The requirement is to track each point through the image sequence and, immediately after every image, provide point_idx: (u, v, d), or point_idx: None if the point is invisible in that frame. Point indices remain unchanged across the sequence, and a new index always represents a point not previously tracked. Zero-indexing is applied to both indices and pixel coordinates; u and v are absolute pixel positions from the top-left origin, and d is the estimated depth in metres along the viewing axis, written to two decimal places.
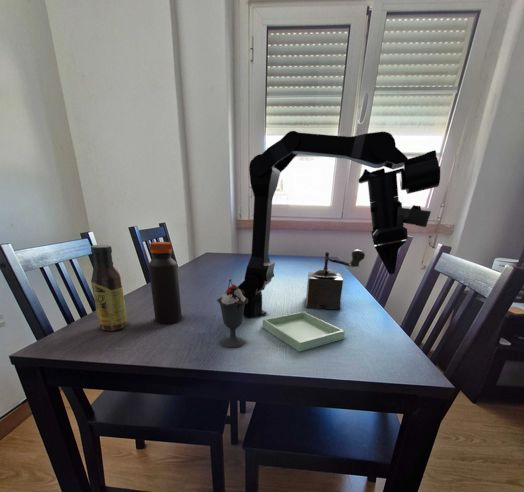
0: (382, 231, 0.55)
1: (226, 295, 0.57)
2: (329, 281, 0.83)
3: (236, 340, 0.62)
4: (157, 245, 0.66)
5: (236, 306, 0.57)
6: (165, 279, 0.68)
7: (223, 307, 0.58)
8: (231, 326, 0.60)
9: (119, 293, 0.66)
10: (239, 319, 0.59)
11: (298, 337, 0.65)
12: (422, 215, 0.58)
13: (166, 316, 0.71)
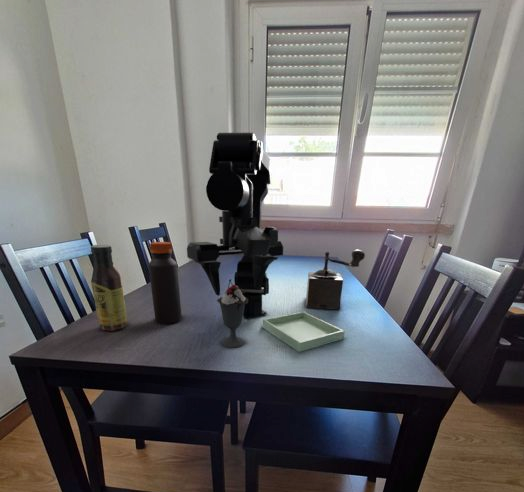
0: (189, 245, 0.51)
1: (226, 295, 0.57)
2: (329, 281, 0.83)
3: (236, 340, 0.62)
4: (157, 245, 0.66)
5: (236, 306, 0.57)
6: (165, 279, 0.68)
7: (223, 307, 0.58)
8: (231, 326, 0.60)
9: (119, 293, 0.66)
10: (239, 319, 0.59)
11: (298, 337, 0.65)
12: (244, 241, 0.48)
13: (166, 316, 0.71)
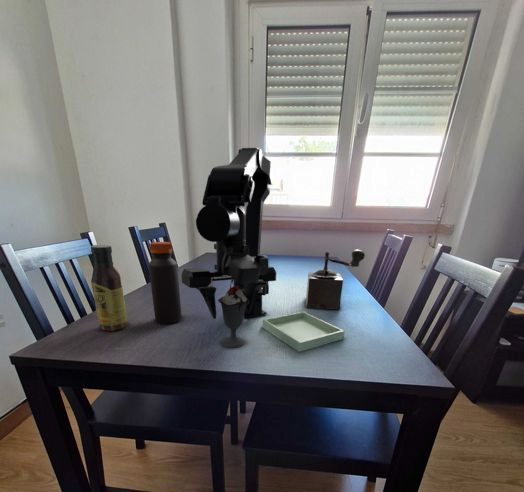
0: (183, 272, 0.53)
1: (228, 295, 0.57)
2: (329, 281, 0.83)
3: (236, 340, 0.62)
4: (157, 245, 0.66)
5: (237, 307, 0.57)
6: (165, 279, 0.68)
7: (224, 307, 0.58)
8: (232, 326, 0.60)
9: (119, 293, 0.66)
10: (240, 319, 0.59)
11: (298, 337, 0.65)
12: (235, 269, 0.50)
13: (166, 316, 0.71)
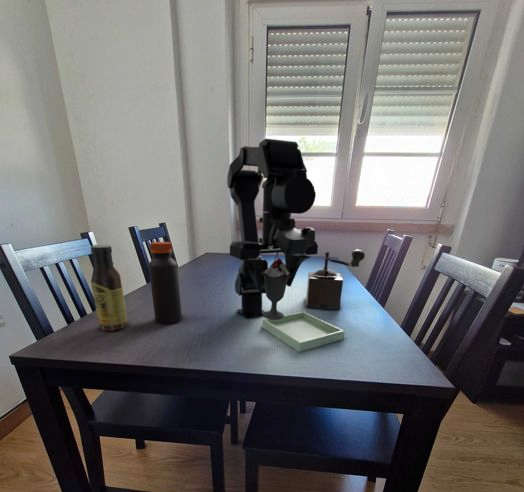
0: (232, 244, 0.55)
1: (272, 268, 0.59)
2: (329, 281, 0.83)
3: (277, 313, 0.65)
4: (157, 245, 0.66)
5: (281, 279, 0.59)
6: (165, 279, 0.68)
7: (268, 280, 0.60)
8: (274, 299, 0.62)
9: (119, 293, 0.66)
10: (282, 292, 0.62)
11: (298, 337, 0.65)
12: (284, 241, 0.52)
13: (166, 316, 0.71)
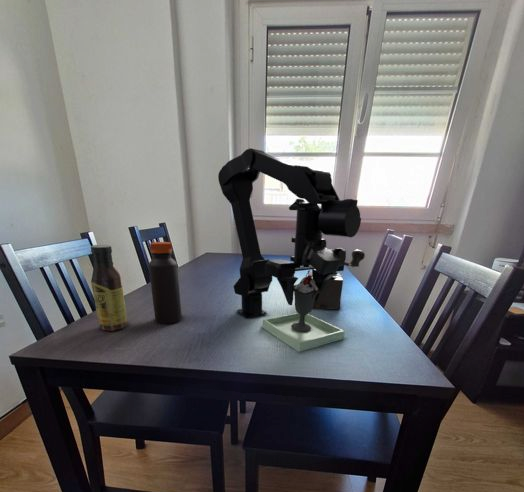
0: (268, 263, 0.59)
1: (303, 284, 0.63)
2: (329, 281, 0.83)
3: (305, 325, 0.69)
4: (157, 245, 0.66)
5: (311, 295, 0.64)
6: (165, 279, 0.68)
7: (299, 295, 0.64)
8: (303, 312, 0.66)
9: (119, 293, 0.66)
10: (311, 306, 0.66)
11: (298, 337, 0.65)
12: (319, 261, 0.56)
13: (166, 316, 0.71)
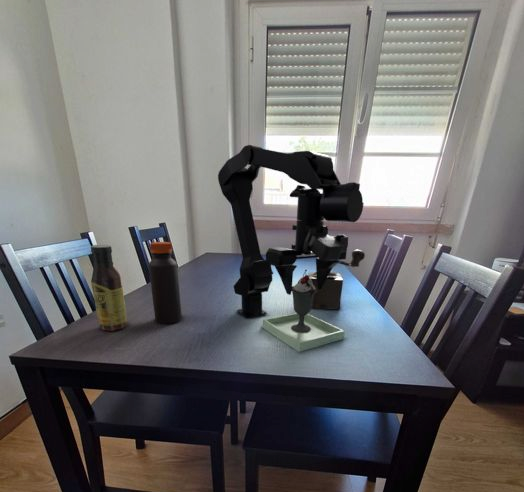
0: (269, 251, 0.58)
1: (301, 284, 0.64)
2: (329, 281, 0.83)
3: (304, 326, 0.69)
4: (157, 245, 0.66)
5: (309, 294, 0.64)
6: (165, 279, 0.68)
7: (297, 295, 0.65)
8: (303, 312, 0.67)
9: (119, 293, 0.66)
10: (310, 306, 0.66)
11: (298, 337, 0.65)
12: (321, 248, 0.55)
13: (166, 316, 0.71)
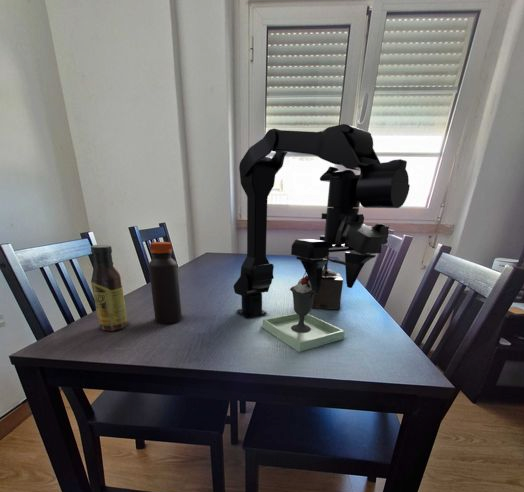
0: (296, 243, 0.50)
1: (301, 285, 0.64)
2: (329, 281, 0.83)
3: (304, 326, 0.69)
4: (157, 245, 0.66)
5: (310, 294, 0.64)
6: (165, 279, 0.68)
7: (297, 296, 0.65)
8: (303, 313, 0.66)
9: (119, 293, 0.66)
10: (310, 306, 0.66)
11: (298, 337, 0.65)
12: (359, 238, 0.47)
13: (166, 316, 0.71)
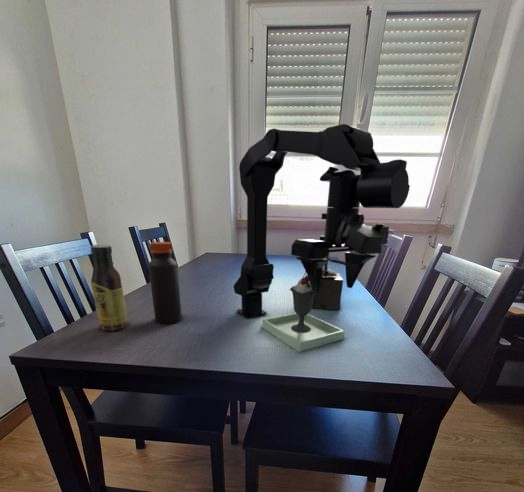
0: (296, 243, 0.50)
1: (301, 285, 0.64)
2: (329, 281, 0.83)
3: (304, 326, 0.69)
4: (157, 245, 0.66)
5: (310, 294, 0.64)
6: (165, 279, 0.68)
7: (297, 296, 0.65)
8: (303, 313, 0.66)
9: (119, 293, 0.66)
10: (310, 306, 0.66)
11: (298, 337, 0.65)
12: (359, 239, 0.47)
13: (166, 316, 0.71)
